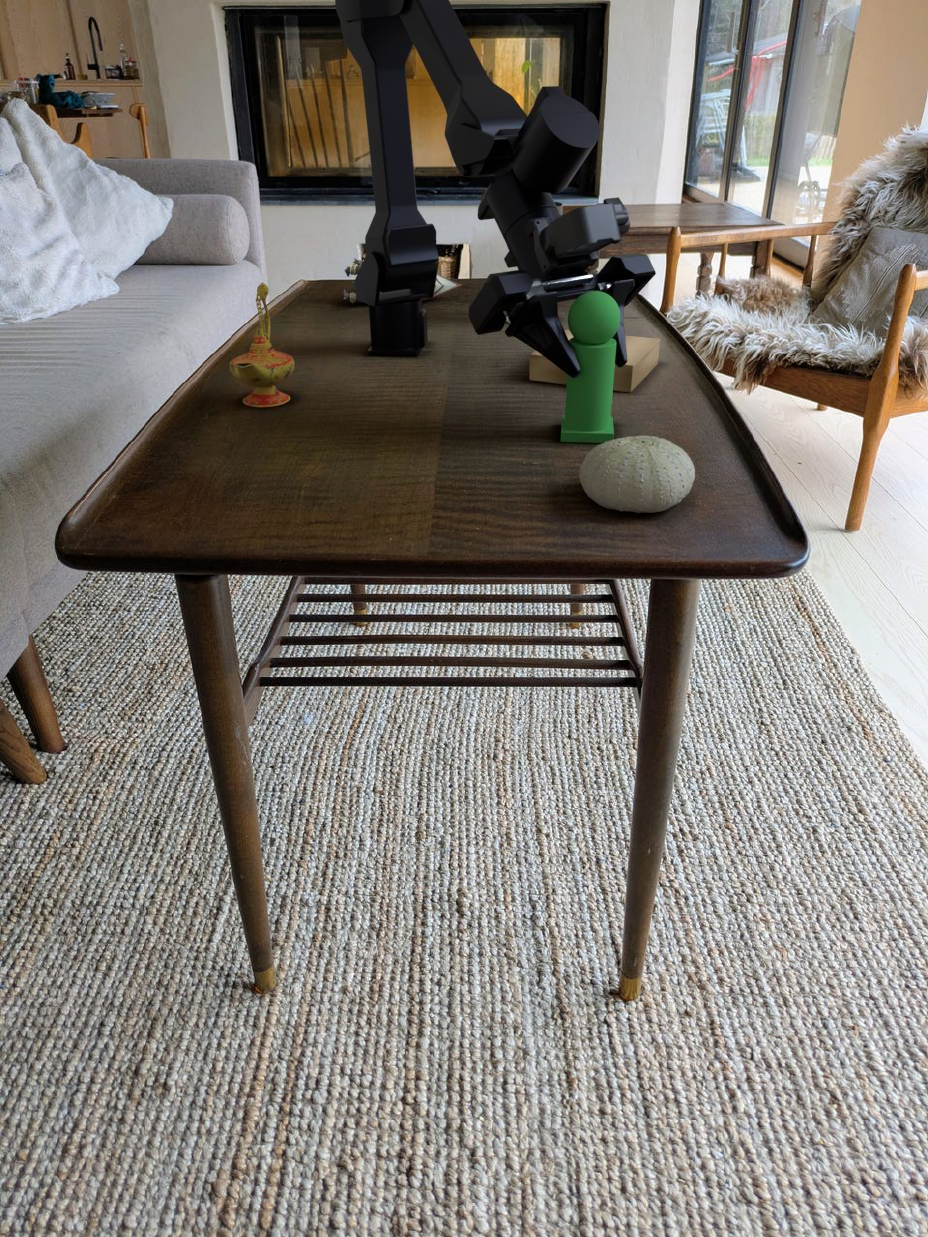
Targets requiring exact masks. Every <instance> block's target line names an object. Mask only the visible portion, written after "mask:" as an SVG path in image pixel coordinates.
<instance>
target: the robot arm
mask: <svg viewBox="0 0 928 1237" xmlns="http://www.w3.org/2000/svg"><path fill="white" fill-rule="evenodd" d="M334 4H335V5H334V6H335V10H336V11H335V12H336V13H337V17H338V18H339V24H340V27H341V34H342V38H343V43H344V45H345V46H346V48H347V49H348V51H349V52H350V54H351V56H352V57H353V59H354V61H355V62H356V64H357V65H358V67H359V68H360V72H361V80H362V90H363V99H364V100H363V101H364V111H365V118H366V130H367V138H368V139H367V140H368V150H369V159H370V168H371V169H370V170H371V178H372V186H373V187H372V188H373V195H374V196H373V198H374V208H375V210H374V211H375V213H374V215H373V217H372V219H371V222H370V224H369V227H368V229H367V231H366V234H365V236H364V245H365V247H364V248H365V256H364V258H363V260H364V261H363V260H362V261H363V263H362V265H361V267H360V270H359V272H358V274H357V275H355V276H356V277H355V279H354V281H353V282H354V285H353V288H354V287H355V288H354V291H355V292H354V293H356V296H357V300H359V301H361V302H360V303H364V304H366V305H368V316H369V317H368V318H369V331H370V332H369V334H370V346H369V348H368V350H367V353H368V355H379V356H380V355H381V356H382V355H385V356H387V355H388V356H419V355H420V354H421V352H422V351H423V349H424V348H425V347H426V345H427V343H428V341H429V340H428V310H426V309H425V308H423V301H422V299H423V298H431V299H433V296H434V290H435V284H436V278H437V273H438V272H439V265H440V262H439V261H440V256H439V252H438V247H437V230H436V229H437V228H436V226H435V225H434V224H433V223H427V221H426V220H425V218H424V216H423V215H422V213H421V212H420V210H419V209H418V199H417V188H416V187H417V186H416V176H415V175H416V174H415V165H414V164H415V163H414V154H413V152H414V151H413V140H412V131H411V130H412V128H411V116H410V105H409V104H410V103H409V93H408V82H407V62H408V60H409V58H410V55H411V52H412V50H413V48H415V50H416V52H417V54H418V56H419V58H420V59H421V62H422V64H423V66H424V68H425V70H426V72H427V74H428V76H429V78H430V80H431V83H432V84H433V86H434V88H435V90H436V93H437V94H438V96H439V98H440V100H441V103H442V104H443V107H444V111H445V112H446V121H445V127H444V137H445V140H446V143H447V146H448V149H449V151H450V155H451V158H452V160H453V162H454V165H455V168H456V169H457V171H458V172H459V173H460V174H461V175H462V176H463V177H465V178H466V177H467V178H472V179H473V178H484V177H493V178H492V180H491V182H490V183H489V185H488V187H487V188H486V189H482V191H481V199H480V201H479V205H478V207H477V219H478V220H479V221H487V220H494V221H495V223H496V225H497V228H498V229H499V232H500V234H501V236H502V238H503V240H504V242H505V244H506V247H507V250H508V249H509V250H508V252H507V253H506V255H505V256H504V258H503V260H504V263H505V265H506V267H507V268H509V269H510V268H515V267H516V268H517V269H516V270H510V271H501V272H496V273H495V272H494V273H489V274H488V276H487V277H486V279H485V280H484V282H483V283H482V285H481V286H480V288H479V289H478V291H477V293H476V294H475V296H474V298H472V301H471V302H470V304H469V306H468V319H469V321H470V323H471V325H472V328H473V329H474V332H475V333H476V334H477V335H478V336H480V335H485V334H491V333H496V332H502V330H503V329H504V327H505V324H506V323H507V322H506V320H507V319H506V317H507V316H509V317H508V319H509V321H510V323H509V325H508V326H507V327H506V329H505V330H504V334H505V336H507V337H508V338H512V337H513V338H516V339H517V340H518V341H520V342H521V343H523V344H524V345H526V346H528V347H529V348H531V349H533V350H534V351H535V350H536V351H537V352H539V353H540V354H541V355H543V356H545V358H547V359H548V360H549V361H551V362H552V363H553V364H555V365H556V366H557V367H559V368H560V369H561V370H562V371H564V372H565V373H566V374H568V375H569V376H570V377H572V378H576V377H577V376H578V375H579V374H580V372H581V370H580V367H579V364H578V361H577V358H576V355H575V353H574V351H573V348H572V346H571V344H570V342H569V340H568V337H567V335H566V333H565V331H564V330H565V328H564V326H563V324H562V322H561V319H560V317H559V310H558V308H559V307H558V303H563V302H570V301H575V300H576V299H577V298H578V297H579V296H581V295H582V294H584V293H587V292H590V291H600V292H604V293H606V294H608V295H610V296H611V297H612V298H613V299H614V300H615V301H616V303H617V305H618V307H619V310H620V325H619V328H618V330H617V332H616V334H615V335H614V336H613V337H612V338H613V339H615V340H616V355H615V364H616V365H617V366H618V367H619V368H621V367H623V366H624V365H625V364H626V363H627V350H626V339H625V336H626V330H625V313H624V312H625V308H626V307H627V306H628V305H630V303H631V302H632V301H633V300H634V299H635V298H636V297H637V295H638V294H640V292H641V291H642V290H643V289H644V288H645V287H646V286H647V284H649V282H650V281H651V280H652V279H653V278H654V277H655V276H656V275H657V272H656V270H655V267H654V266H653V264H652V262H651V260H650V258H649V256H648V254H647V253H641V252H633V253H626V254H620V255H613V256H611V257H610V258H609V259H608V260H607V262H606V263H605V264H604V265H603V267H602V268H601V269H600V270H599V271H598V273H595V274H592V273H591V274H589V272H588V271H587V270H588V268H589V267H593V266H594V265H595V264H596V262H598V260H599V258H600V257H599V255H598V253H597V252H599V251H600V250H602V249H604V248H606V247H608V246H610V245H612V244H613V245H616V244H619V243H620V242H621V241H622V237H621V236H623V235H625V234H627V233H628V232H629V230H630V227H631V221H630V215H629V212H628V210H627V208H626V206H625V205H624V203H623V202H622V200H621V199H620V197H619V196H618V197H608V198H605V199H603V202H600V203H599V202H598V203H596V204H593V205H585V206H584V205H583V206H579V207H577V208H574V209H572V210H569V211H567V212H566V213H565V214H562V215H560V213H559V211H558V208H557V206H556V204H555V202H556V201H555V200H554V198H553V196H552V194H558V193H561V192H563V191H564V190H565V189H567V187H568V186H569V184H570V183H571V181H572V180H573V178H574V177H575V175H576V174H577V172H578V171H579V169H580V167H581V166H582V165H583V163H584V161H586V159H587V157H588V156H589V155H590V153H591V152H592V150H593V148H594V147H595V145H596V143H597V142H598V140H599V138H600V134H601V129H600V124H599V121H598V118H597V117H596V115H595V113H593V112H591V111H590V110H589V109H588V108H587V107H586V106H585V105H584V104H582V103H581V102H580V101H578V100H577V99H575V98H573V97H571V96H569V95H566V92H564V90H563V87H562V86H561V85H549V86H548V85H547V86H546V85H544V86H542V87H541V88H540V90H539V91H538V93H537V95H536V97H535V100H534V102H533V106H532V108H531V109H530V111H529V113H528V115H527V114H526V112H525V111H524V109H523V108H522V107H521V105H520V104H519V103H518V101H517V99H515V97H514V96H513V95H512V93H509V92H507V91H506V90H505V89H503V88H502V87H501V86H499V85H497V83H494V82H493V81H492V79H491V77H489V75H488V73H487V72H486V70H485V68H484V67H483V64H482V62H481V60H480V58H479V56H478V54H477V52H476V50H475V49H474V46H473V45H472V42H471V40H470V38H469V37H468V35H467V32H466V30H465V28H464V27H463V25H462V23H461V21H460V19H459V17H458V15H457V14H456V11H455V9H454V7H453V6H452V3H451V1H450V0H334ZM504 312H505V313H506V314H507V315H506V314H505V313H504ZM507 337H506V338H507Z"/></svg>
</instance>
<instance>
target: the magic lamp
mask: <svg viewBox="0 0 928 1237" xmlns="http://www.w3.org/2000/svg"><path fill="white" fill-rule="evenodd" d="M269 291H270V289H269V287H268V285H267V284H266V283H264V282H261V283H259V285H258V286H257V288H256V298H255V304H256V308H257V314H258V319H259V326H260V328H256V331H255V332H254V333H253V334H252V338H253V339H254V340H253V341H252V343H251V344H250V347H249V350H248V352H246V353H243V354H240V355H238V356H236V357H234V358H233V359H231V361H230V362H229V371H230V373H231V374H232V376H233V377H234V378H235V380H237V381H239V382H240V383H242V384H245V385H247V386H251V387H254V389H253V391H252V392H251V393H250V394H249V395H247V396H246V397H244V398H243V399H242V403H243V404H244V405H245V406H248V407H253V408H272V407H277V406H281V405H284V404H286V403H288V402H289V401H291V397H290V395H289V394H288V393H284V392H282V391H280V390H279V389H278V388H277V387H276V385H278V384H281V383H283V382H284V381H286V380H287V379H288V378H289V377H291V375H292V374H293V373H294V370H295V364H296V363H295V359H294V358H293V356H292V355H290V354H288V353H285V352H283V351H277V350H275V348H274V346H273V345H272V343H271V341H270V339H271V317H270V312H269V308H268V305H267V303H266V302H267V301H266V300H267V297H268V295H269V293H270V292H269ZM261 302H262V303H261ZM262 304H263V305H262ZM262 306H263V307H262ZM263 308H264V311H265V315H266V323H265V318H264V313H263ZM266 324H267V329H266Z"/></svg>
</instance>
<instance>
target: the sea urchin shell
mask: <svg viewBox="0 0 928 1237" xmlns="http://www.w3.org/2000/svg"><path fill="white" fill-rule="evenodd" d="M695 474H696V469H695V465H694V462H693V460H692V459H691V457H690V455H689V454H688V453H687V452H686V451H685V450H684V449H683V448H682V447H680V446H679V445H676V444H675V443H673V442H672V441H671V440H667V439H665V438H664V437H663V438H661V437H658V436H655V435H653V436H651V435H650V436H649V435H637V436H631V435H630V436H625V437H621V438H619V437H617V438H615V439H614V438H613V440H611V441H610V440H609V441H608V442H605V443H599V444H597V445H596V446H594V447H592V449H591V450H589V451H588V452H587V454H586V455H585V457H584V458H583V460H582V463H581V465H580V468H579V473H578V478H579V483H580V485H581V487H582V489H583V490H584V493H585V494H586V497H588V498H590V500H592V501H594V502H595V503H596V504H597V505H598V506H601V507H603V508H606V509H607V510H616V511H620V512H633V513H636V514H639V513H649V514H650V513H651V514H654V513H660V512H664V511H666V510H668V509H670V508H672V507H674V506H677V505H678V504H679V503H681V501H682V500H683V499H684V498H685V499H686V497H687V496H688V495H689V494H690V491H691V490H692V488H693V485H694V481H695V479H696V476H695Z"/></svg>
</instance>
